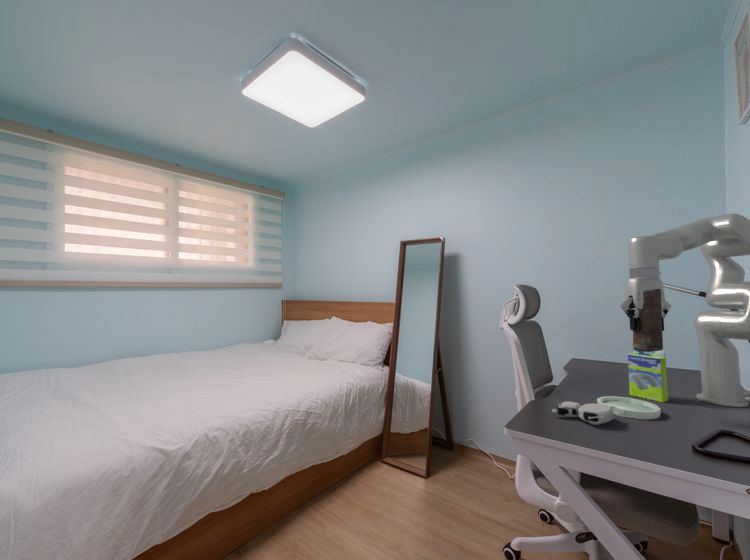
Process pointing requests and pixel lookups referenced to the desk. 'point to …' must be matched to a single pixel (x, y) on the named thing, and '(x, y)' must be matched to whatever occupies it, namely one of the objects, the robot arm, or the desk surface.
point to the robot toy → (586, 412)
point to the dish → (631, 407)
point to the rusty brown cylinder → (649, 323)
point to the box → (648, 375)
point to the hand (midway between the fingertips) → (646, 330)
